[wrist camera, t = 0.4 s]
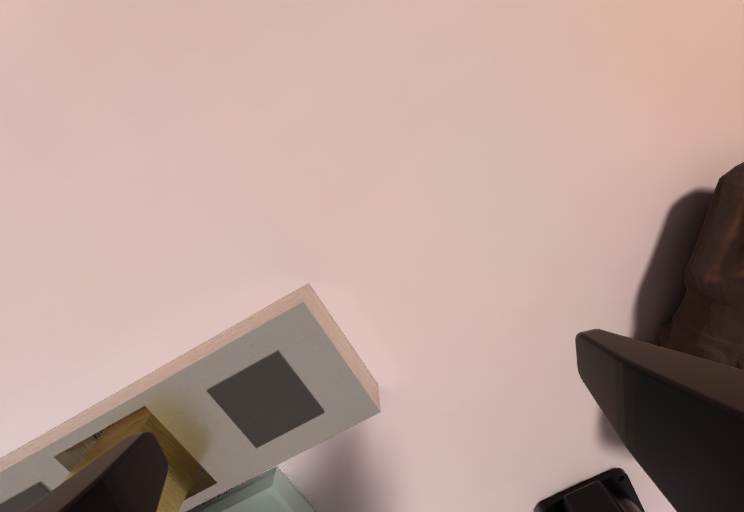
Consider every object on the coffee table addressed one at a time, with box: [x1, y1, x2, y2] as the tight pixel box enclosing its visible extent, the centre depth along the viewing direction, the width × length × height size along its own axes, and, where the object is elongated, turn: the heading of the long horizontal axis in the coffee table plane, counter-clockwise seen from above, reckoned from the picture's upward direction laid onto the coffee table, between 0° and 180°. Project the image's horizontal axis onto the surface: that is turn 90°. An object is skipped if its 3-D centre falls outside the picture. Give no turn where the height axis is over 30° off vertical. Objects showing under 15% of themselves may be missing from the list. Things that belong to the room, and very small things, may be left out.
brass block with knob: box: [61, 407, 200, 512], centre depth 21 cm, size 4×4×7 cm
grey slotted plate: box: [0, 283, 381, 512], centre depth 23 cm, size 8×24×3 cm, turn 120°
